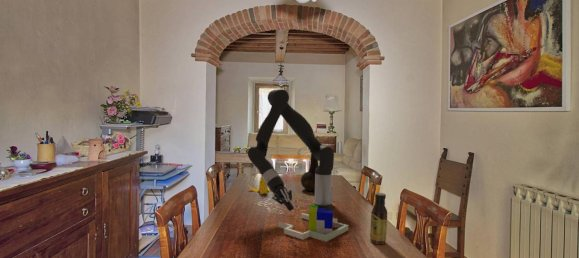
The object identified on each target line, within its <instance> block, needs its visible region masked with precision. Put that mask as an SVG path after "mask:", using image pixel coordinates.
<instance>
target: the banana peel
mask: <svg viewBox="0 0 579 258" xmlns="http://www.w3.org/2000/svg"><path fill="white" fill-rule="evenodd" d="M258 184H259V185H258V186H259V187H258V189H256V188H253V187H252V186H250V185H247V187H248V188H249V189H250V190H251V191H252V192H253V193H259V194H260V195H269V193H272V192H271V191H270V189H269V188H268V186H267V184H266V183H265V181H264V179H263V177H262V175H261V176H260V179H259V183H258Z"/></svg>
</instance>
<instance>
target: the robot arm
mask: <svg viewBox="0 0 579 258" xmlns="http://www.w3.org/2000/svg"><path fill="white" fill-rule="evenodd" d="M289 100H290V94H289V93H288V91H287V90H286V89H283V88H278V89H277V88H276V89H273V90H271V91H269V92H268V95H267V101H268V103H269V104H270V106H271V108H270V109H269V112H268V114H267V115H266V117H265V118H264V119H263V121H262V122H261V125H260V126H259V128H258V131H257V134H256V137H255V142H256V146H251V147H250V148H248V149H247V156H248V158H249V160H250V162H251V164H253V166H255V168H257V170H258V172H259V173H260V175H261V176H262V177H263V179H264V181H265V183H266V184H267V188H268V189H270V191H271V192H270V193H273V196H272V197H271V198H272V200H274V201H276V202H277V203H278V204H280V205H284V206H285V207H286V209H287V210H288V211H289V212H292V211H293V210H294V209H295V208H294V205H293V203H292V202H291V201H292V200H293V190H290V189H289V190H288V189H287V187H285V182H284V180H283V179H282V178H281V176H280V174H279V173H278V171H277V170H276V169H275V167H274V166H273V165H272V163H271V162H270V161H269V160H268V159H267V158H266V157H267V154H268V148H269V143H270V140H271V137H272V135H273V132H274V130H275V127H276V124H277V123H278V121H279V119H280V117H282V118H283V119H284V121H285V122H286V123H287V125H289V127H290V128H291V130H292V131H293V132H294V133H295V134H296V136H297V137H298V138H299V139H300V140H301V142H302V143H303V144H305V146H306V147H307V148H308V150H309V152H310V151H311V153H312V155H313V156H314V157H315V159H316V160H318V166H319V167H318V168H316V170H315V191H314V203H313V204H314V205H317V206H331V205H332V204H333V186H332V173H333V170H334V164H335V163H334V161H335V152H334V149H333V148H332V147H331V146H328V145H323V144H322V143H321V142H320V141H319V140H318V139H317V137H316V136H315V133H314V130H313V127H312V126H311V124H310V123H309V122H308V120H307V118H305V117H304V116H303V115H302V114H301V113H299V112H298V111H297V110H295V109H294V108H293V107H292V106H291V105H290V104H289ZM311 153H310V154H311Z"/></svg>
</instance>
